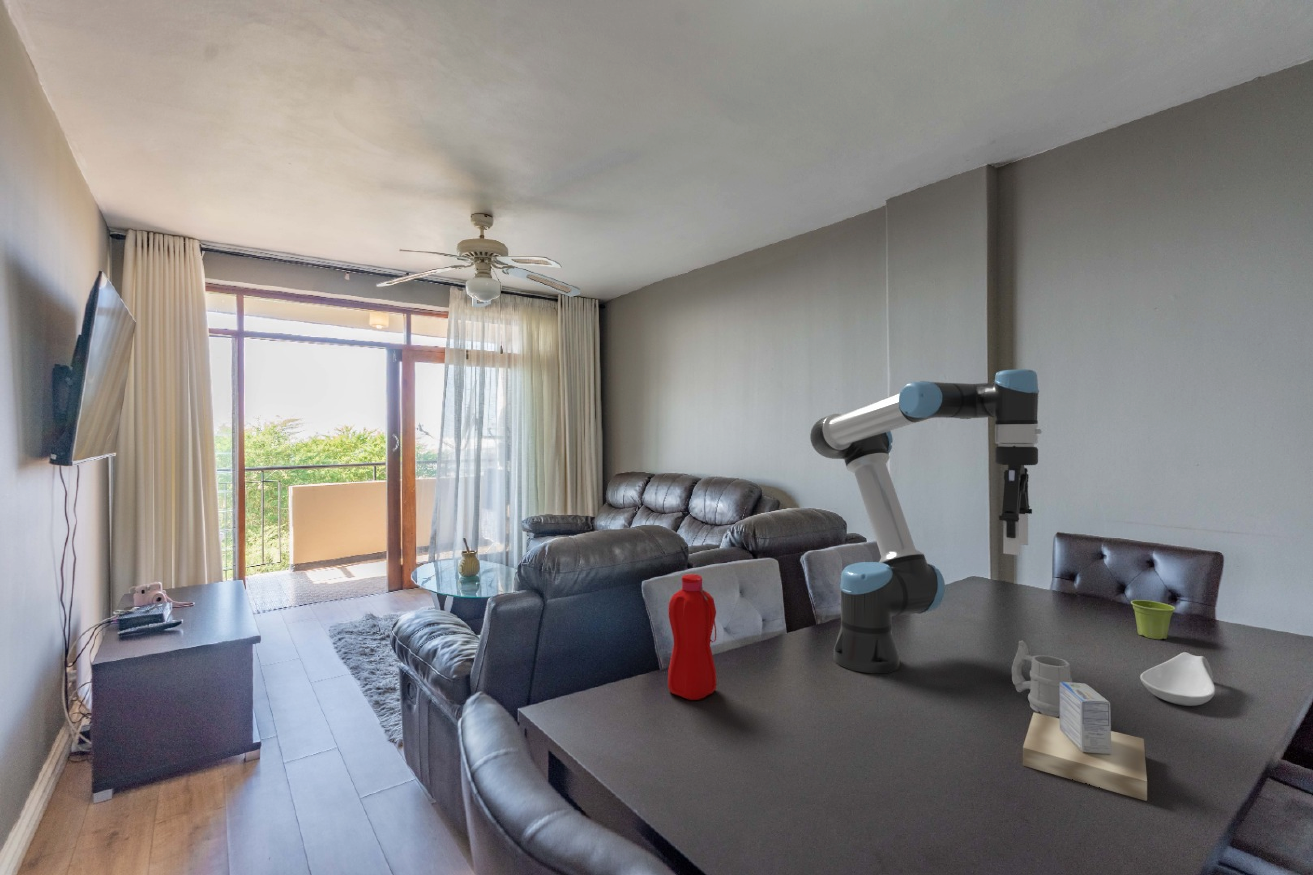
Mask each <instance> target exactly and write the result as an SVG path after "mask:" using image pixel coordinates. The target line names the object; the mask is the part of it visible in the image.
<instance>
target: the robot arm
mask: <svg viewBox="0 0 1313 875" xmlns="http://www.w3.org/2000/svg"><path fill="white" fill-rule="evenodd" d="M1039 392H1040V390H1039V384H1038V373H1037V372H1036V371H1035V370H1033V369H1023V368H1022V369H1006V370H1000V371H997V372H996V373H995V377H994V381H992V382H983V383H981V382H980V383H965V382H964V383H961V382H959V383H958V382H957V383H956V382H938V381H937V382H936V381H928V380H927V381H926V380H921V381H913V382H909V383H907V384H905V385H904V387H903V388H902V389H901V390H900V392H899V393H896V394H894V395H891V396H889V397H886V398H883V399H881V400H880V399H879V400H878V401H875V402H873V403H870V404H866V405H865V406H862V407H860V408H857V409H854V410H851V411H849V412H846V413H844V414H843V413H842V414H841V413H832V414H829V415H827V416H825V417H822V418H820V419H819V420H817V421H816V422H815V423H814V424H813V426H812V427H811V430H810V439H809V440H810V443H811V446H812V447H813V449H814V450H815V451H816V452H817V454H819V455H820V456H822V457H825V458H828V459H831V460H840V459H841V460H844V464H845V466H846V469H847V470H848V471H850V472H851V473H853V474H854V476H855V479H856V482H857V484H858V486H857V487H858V489H859V491H860V495H861V497H862V501H863V505H864V507H865V510H866V513H867V517H868V519H869V523H870V526H871V529H872V532H873V535H874V538H875V541H876V544H877V548H878V550H879V554H880V559H879V561H868V562H867V561H863V562H855V563H851V564H848V565H847V566H846V567H844V569H843V570H842V571H841V574H840V575H841V576H840V577H841V578H840V584H839V588H840V629H839V632H838V635H837V638H836V642H835V644H834V647H833V660H834V662H835V663H836V664H838V665H839V666H841V667H843V668H846V669H848V670H851V671H855V672H859V673H866V674H887V673H893V672H895V671H897V670H899V668H900V654H899V651H898V648H897V644H896V642H895V639H894V636H893V633H892V628H893V627H892V624H893V623H892V621H893V620H892V619H893V618H892V617H898V616H905V615H914V614H917V615H918V614H924V613H926V612H931V611H934V610H936V609H937V608H938V607H939V606H940V605H941V604H942V602H943V599H944V597H945V593H946V583H945V579H944V577H943V574H942V572H941V570H939V569H938V568H936V566H935V565H933V564H930V563H928V561H927V560H926V557H925V554H924V552H922V551H920V550H918V549H917V548H916V547H915V544H914V541H913V538H912V535H911V532H910V530H909V526H908V524H907V521H906V518H905V514H904V511H903V510H902V506H901V503H900V500H899V498H898V495H897V491H896V489H895V487H894V484H893V481H892V478H891V475H890V471H889V468H888V465H887V463H888V461H889V459H890V453H891V451H892V448H893V445H892V444H893V443H894V442H893V439H894V438H893V435H892V432H891V431H894V430H896V429H899V428H903V427H908V426H909V425H912V424H916V423H919V422H923V421H926V420H929V419H934V418H936V419H937V418H938V419H939V418H946V419H947V418H951V419H960V420H962V419H963V420H970V419H979V418H983V419H984V418H994V421H995V422H994V424H995V425H994V443H995V444H996V445H998V446H996V448H995V449H994V450H995V451H994V453H995V455H994V457H995V459H994V462H995V464H997V465H999V466H1000V465H1002V466H1004V465H1005V466H1006V465H1007V469H1005V470H1004V472H1003V481H1004V484H1003V496H1002V499H1003V500H1002V512H1001V515H999V516H998V521H1003V527H1002V528H1003V535H1002V536H1003V537H1002V539H1003V541H1002V542H1003V543H1002V544H1003V547H1002V548H1003V550H1002V552H1003V555H1004V554H1005V555H1013V556H1020V555H1021V554H1020V553H1021V545H1022V546H1029V515H1032V514H1033V509H1032V508H1030V507H1031V506H1030V501H1029V479H1030V478H1029V473H1028V471H1029V470H1028V468H1027V467H1025V466H1037V465H1038V464H1039V449H1038V447H1037V446H1035V445H1037V444H1038V442H1039V440H1038V438H1039V437H1038V435H1040V434H1042V433H1043V431H1042V429H1040V428H1038V427H1039V426H1038V424H1039V421H1038V410H1039V408H1038V406H1039Z"/></svg>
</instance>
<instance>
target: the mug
mask: <svg viewBox="0 0 1313 875" xmlns="http://www.w3.org/2000/svg"><path fill="white" fill-rule="evenodd" d="M1029 653H1030V652H1029V647H1028V645H1027V643H1025V641H1024V640H1019V641H1018V648H1017V651H1016V654H1015V656H1014V658H1013V661H1012V662H1013V663H1012V665H1011V680H1012V683H1013V684H1012V685H1014V687H1015V689H1016V691H1017V692H1018V693H1022V692H1024V691H1025V690H1030V692H1029V693H1028V696H1027V700H1028V701H1029V707H1030V708H1031V709H1032V710H1033V711H1034V712H1035V713H1039V714H1042V715H1047V716H1051V717H1055V718H1060V697H1059V686H1060V682H1072V683H1073V678H1072V676H1071V665H1070V663H1069V662H1068V661H1067V660H1065V659H1062V658H1060V657H1056V656H1052V655H1046V654H1045V655H1042V654H1037V655H1031V654H1029ZM1026 662H1031V669H1030V670H1029V677H1030V680H1026V679H1025V678H1024V677H1025V676H1024V675H1023V674H1022V670H1023V668H1022V666H1023V665H1024V664H1025V663H1026Z"/></svg>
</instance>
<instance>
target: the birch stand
mask: <svg viewBox="0 0 1313 875" xmlns="http://www.w3.org/2000/svg"><path fill="white" fill-rule="evenodd" d="M1032 713H1033V714H1032V716H1031V719H1030V722H1029V725H1028V730H1027V733H1026V736H1025V740H1024V742H1023V745H1022V766H1023V767H1027V768H1030V769H1033V770H1037V771H1041V772H1045V773H1048V774H1052V775H1053V776H1054V775H1055V776H1058V777H1062V778H1066V779H1067V780H1072V779H1073V780H1072V781H1076V782H1079V783H1082V784H1085V783H1087V784H1086V785H1089V784H1090V785H1089V786H1093V787H1095V788H1099V787H1100V789H1103V790H1107V791H1110V792H1114V793H1117V794H1121V795H1124V796H1127V797H1131V798H1134V799H1137V800H1141V801H1144V802H1145V801H1146V802H1148V776H1147V766H1146V765H1147V764H1146V754H1145V753H1146V751H1145V739H1144V738H1142V737H1139V736H1138V737H1137V736H1133V735H1129V734H1125V733H1122V732H1116V731H1113V730H1111V754H1109V755H1108V754H1096V753H1086V752H1082V751H1081V750H1080V749H1079V748H1078V747H1077V746H1076V745H1075V744H1074V743H1073V742H1072V741H1071V740H1070V739H1069V738H1068V737H1067V736H1066V735H1065V734H1064V733H1063V732H1062V731H1061V730H1060V717H1051V716H1047V715H1044V714H1042V713H1039V712H1032Z"/></svg>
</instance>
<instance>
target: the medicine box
mask: <svg viewBox="0 0 1313 875" xmlns="http://www.w3.org/2000/svg"><path fill="white" fill-rule="evenodd" d="M1059 697H1060V717H1059V719H1060V730H1061V731H1062V732H1063V733H1064V734H1065V735H1066V736H1067V737H1068V738H1069V739H1070V740H1071V741H1072V742H1073V743H1074V744H1075V745H1076V746H1077V747H1078V748H1079V749H1080V750H1081V751H1082V752H1086V753H1096V754H1108V755H1109V754H1111V731H1112V725H1111V724H1112V723H1111V722H1112V720H1111V719H1112V718H1111V702H1110V701H1109V700H1107V699H1106V698H1105V697H1104V696H1102V695H1101V694H1100V693H1098V691H1096V690H1095V689H1093V688H1092V687H1091V686H1089V685H1088V684H1087V683H1083V682H1073V681H1072V682H1060V686H1059Z"/></svg>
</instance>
